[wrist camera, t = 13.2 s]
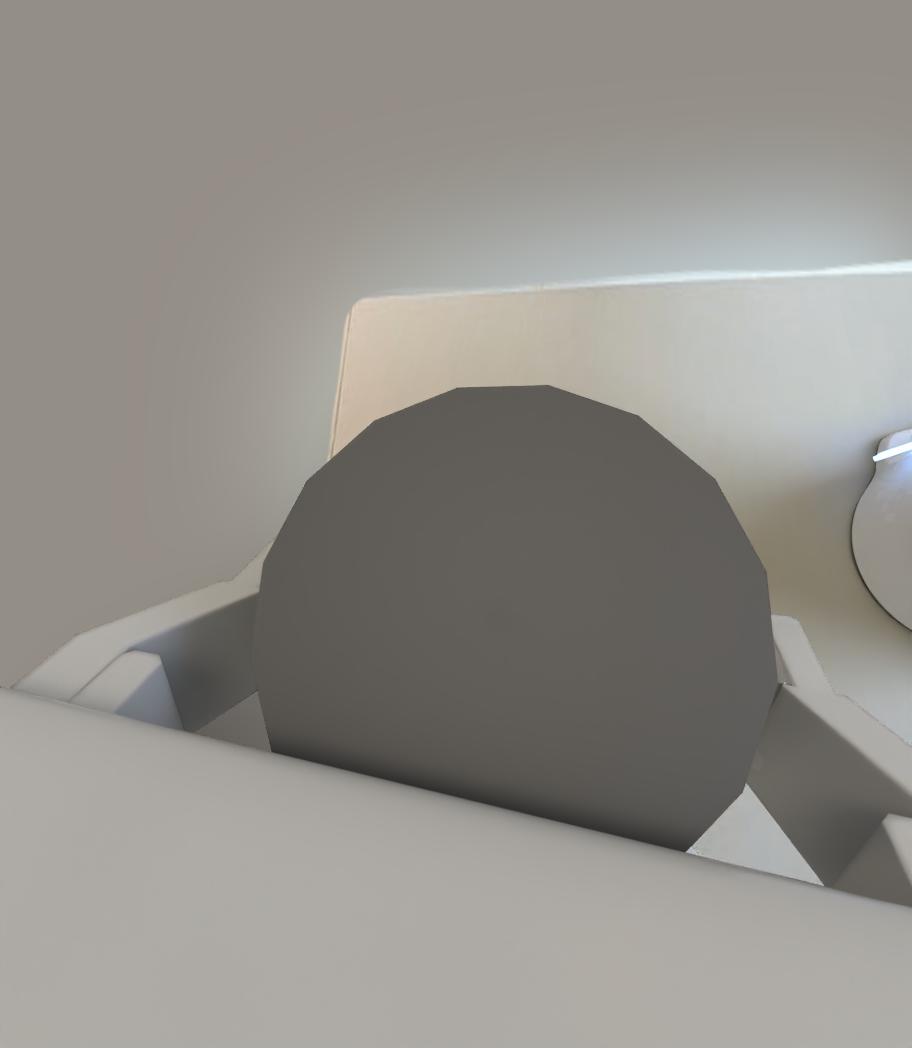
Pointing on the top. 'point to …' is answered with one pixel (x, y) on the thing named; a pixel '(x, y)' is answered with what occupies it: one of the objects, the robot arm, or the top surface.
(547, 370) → the top surface
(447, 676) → the candle holder
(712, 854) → the top surface
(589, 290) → the top surface
